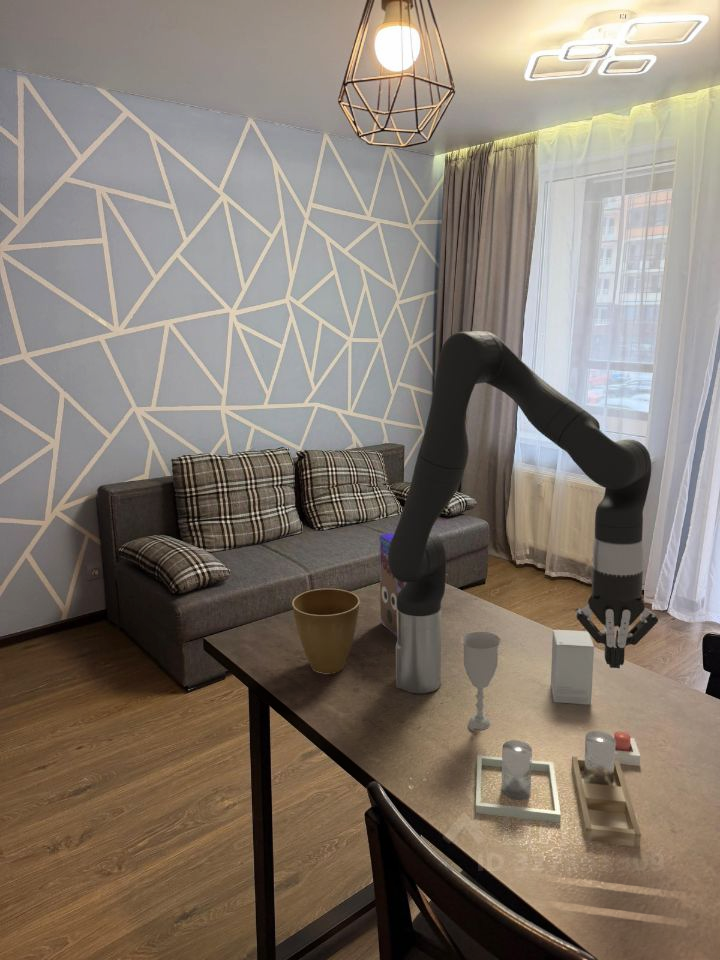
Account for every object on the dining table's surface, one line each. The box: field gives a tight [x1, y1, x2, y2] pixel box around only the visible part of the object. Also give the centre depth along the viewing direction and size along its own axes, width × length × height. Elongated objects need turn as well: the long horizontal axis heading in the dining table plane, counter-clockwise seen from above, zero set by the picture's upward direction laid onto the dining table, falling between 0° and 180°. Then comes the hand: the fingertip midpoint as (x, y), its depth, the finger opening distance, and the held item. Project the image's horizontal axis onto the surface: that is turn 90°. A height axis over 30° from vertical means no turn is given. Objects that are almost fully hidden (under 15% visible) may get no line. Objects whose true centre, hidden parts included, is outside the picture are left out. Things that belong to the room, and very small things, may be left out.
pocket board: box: [571, 755, 642, 848], centre depth 101 cm, size 7×17×3 cm, turn 169°
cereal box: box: [378, 532, 407, 637], centre depth 160 cm, size 17×5×24 cm, turn 25°
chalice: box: [460, 631, 502, 732], centre depth 121 cm, size 7×7×18 cm
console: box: [612, 735, 641, 767], centre depth 112 cm, size 5×5×3 cm
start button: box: [613, 731, 632, 752], centre depth 112 cm, size 3×3×2 cm
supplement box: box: [550, 629, 595, 706], centre depth 132 cm, size 7×7×13 cm
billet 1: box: [501, 739, 533, 801], centre depth 103 cm, size 4×4×8 cm
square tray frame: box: [475, 754, 562, 823], centre depth 104 cm, size 12×12×2 cm
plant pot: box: [291, 588, 361, 673], centre depth 146 cm, size 15×15×16 cm
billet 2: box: [583, 730, 616, 786], centre depth 104 cm, size 4×4×8 cm
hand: (614, 665), depth 108 cm, fingers closed
